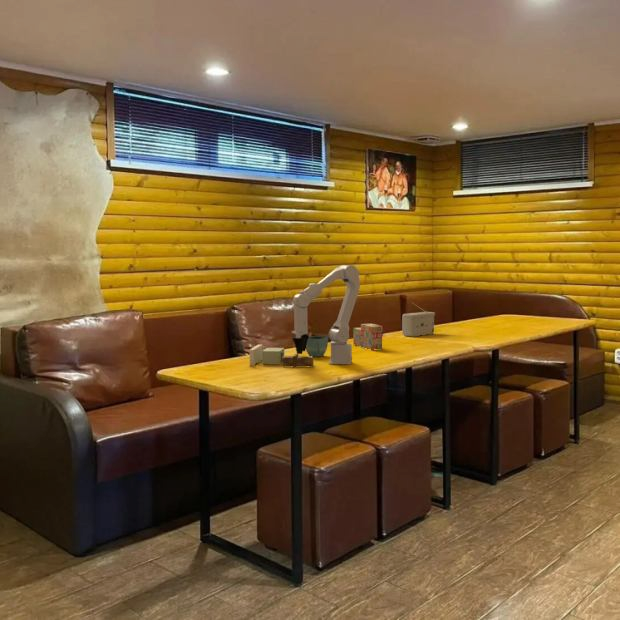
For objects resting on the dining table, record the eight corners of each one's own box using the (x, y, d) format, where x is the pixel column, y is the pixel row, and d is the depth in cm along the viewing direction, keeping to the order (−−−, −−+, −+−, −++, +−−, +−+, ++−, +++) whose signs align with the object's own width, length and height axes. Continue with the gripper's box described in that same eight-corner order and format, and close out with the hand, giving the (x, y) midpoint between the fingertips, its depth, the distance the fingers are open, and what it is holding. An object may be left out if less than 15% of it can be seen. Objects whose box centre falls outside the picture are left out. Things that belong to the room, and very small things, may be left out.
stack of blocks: (353, 345, 354) (352, 322, 353) (363, 344, 357) (363, 321, 356) (371, 350, 335) (371, 326, 334) (382, 350, 337) (382, 325, 336)
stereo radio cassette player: (425, 333, 401) (425, 299, 399) (436, 334, 394) (436, 300, 393) (401, 336, 388) (401, 302, 386) (412, 337, 381) (412, 302, 379)
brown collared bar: (314, 364, 295) (313, 354, 295) (311, 367, 288) (311, 356, 288) (284, 364, 298) (284, 353, 297) (281, 367, 290) (281, 356, 290)
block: (284, 360, 306) (284, 348, 306) (279, 364, 296) (279, 351, 296) (267, 360, 307) (267, 347, 307) (262, 364, 298) (262, 351, 297)
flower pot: (313, 354, 325) (313, 336, 324) (329, 355, 320) (328, 337, 319) (303, 356, 317) (303, 338, 316) (319, 358, 313) (319, 339, 312)
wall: (262, 359, 311) (262, 344, 310) (254, 365, 295) (253, 349, 294) (258, 359, 311) (258, 344, 311) (249, 365, 295) (249, 349, 295)
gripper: (295, 319, 299) (295, 349, 300) (288, 323, 284) (288, 354, 286) (310, 319, 297) (310, 350, 299) (305, 323, 283) (305, 355, 284)
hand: (301, 352), depth 292 cm, fingers open, 7 cm apart
